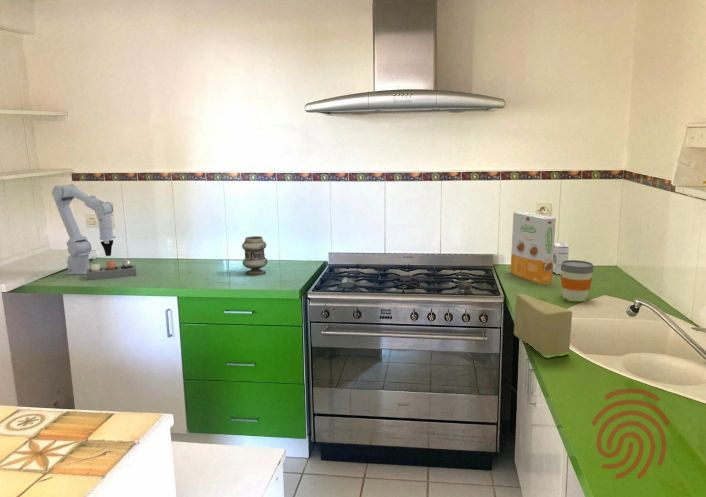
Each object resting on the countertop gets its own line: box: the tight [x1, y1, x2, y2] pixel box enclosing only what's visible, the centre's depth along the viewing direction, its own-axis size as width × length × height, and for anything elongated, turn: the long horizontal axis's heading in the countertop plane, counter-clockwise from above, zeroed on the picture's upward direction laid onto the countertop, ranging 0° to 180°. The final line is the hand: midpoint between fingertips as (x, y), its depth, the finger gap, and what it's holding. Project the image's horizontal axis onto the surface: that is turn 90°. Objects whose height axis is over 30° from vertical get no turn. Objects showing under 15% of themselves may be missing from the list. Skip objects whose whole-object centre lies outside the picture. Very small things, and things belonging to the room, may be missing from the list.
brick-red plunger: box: [105, 260, 116, 270], centre depth 281 cm, size 4×4×4 cm
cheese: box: [513, 293, 573, 355], centre depth 186 cm, size 22×10×15 cm, turn 19°
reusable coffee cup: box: [560, 259, 594, 300], centre depth 237 cm, size 13×13×15 cm
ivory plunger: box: [90, 263, 101, 272], centre depth 278 cm, size 4×4×4 cm
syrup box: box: [552, 242, 570, 275], centre depth 278 cm, size 6×6×14 cm
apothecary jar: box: [241, 235, 268, 277], centre depth 283 cm, size 12×12×18 cm
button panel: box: [85, 264, 137, 281], centre depth 281 cm, size 9×22×4 cm, turn 113°
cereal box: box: [510, 211, 557, 285], centre depth 268 cm, size 22×6×30 cm, turn 20°
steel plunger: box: [121, 259, 132, 269], centre depth 283 cm, size 4×4×4 cm
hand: (108, 255), depth 279 cm, fingers closed
